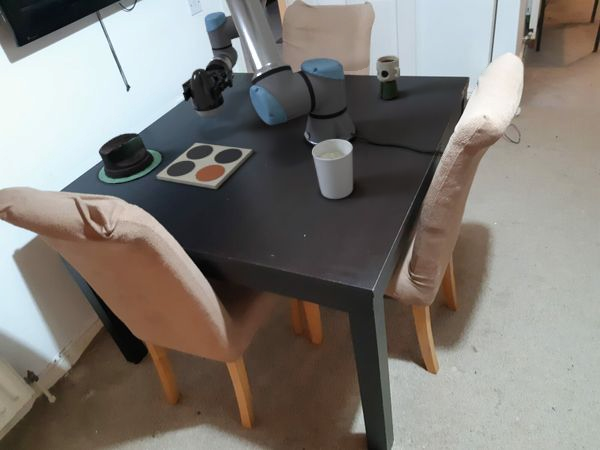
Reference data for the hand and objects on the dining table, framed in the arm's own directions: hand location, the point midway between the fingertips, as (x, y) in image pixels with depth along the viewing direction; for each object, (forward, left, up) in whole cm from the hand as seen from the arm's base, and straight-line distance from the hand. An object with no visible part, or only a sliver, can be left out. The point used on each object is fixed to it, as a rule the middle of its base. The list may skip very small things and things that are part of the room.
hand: (200, 95), depth 136 cm
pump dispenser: (+1, -4, -9) cm, 10 cm away
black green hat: (+19, +21, -16) cm, 32 cm away
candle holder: (-51, +17, -16) cm, 56 cm away
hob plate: (-7, +15, -16) cm, 23 cm away
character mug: (-47, -39, -16) cm, 63 cm away
